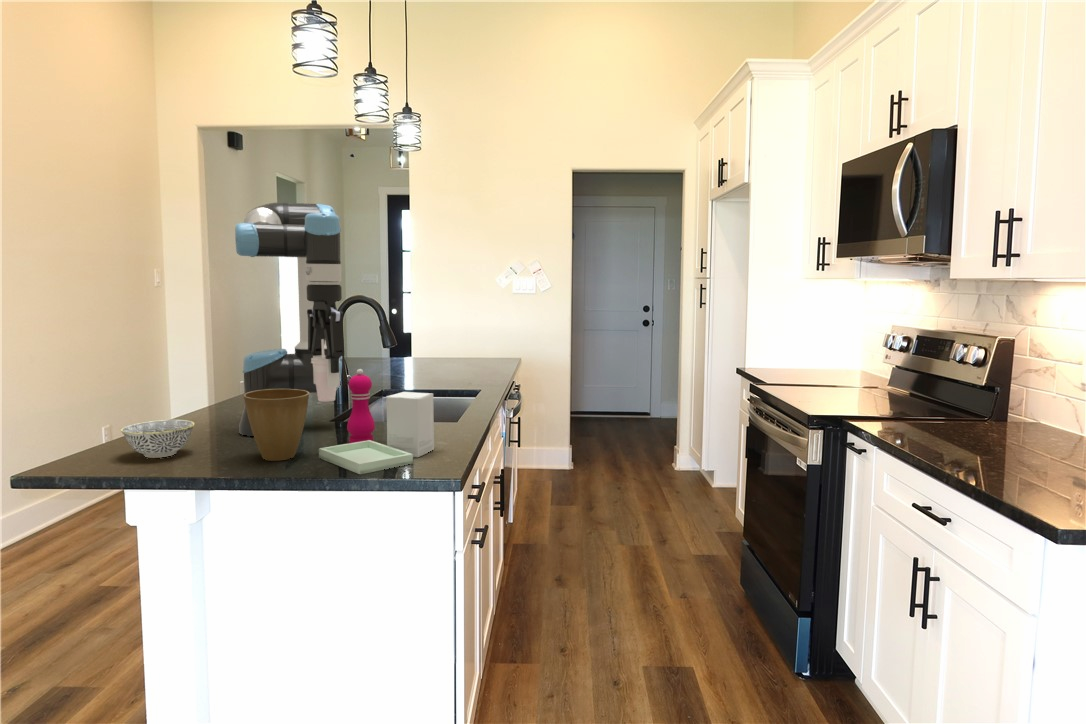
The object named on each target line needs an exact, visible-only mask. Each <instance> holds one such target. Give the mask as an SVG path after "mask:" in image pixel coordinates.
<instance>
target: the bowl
mask: <svg viewBox="0 0 1086 724" xmlns="http://www.w3.org/2000/svg"><path fill="white" fill-rule="evenodd" d="M195 425H196V424H195V421H192V420H187V419H160V420H159V419H158V420H151V421H144V422H138V423H133V424H130V425H126V426H123V428H121V429H120V432H121V433H122V435H123V436H124V438H125V439H126V442H127V443H128V444H129V447H131V448H132V450H134V451H135V452H137V453H139V454H142V455H143V457H144V456H145V457H153V458H154V457H166V456H171V455H174V454H176V455H177V452H178V451H179V450H181V449H182V448H184V446H186V445H187V443H188V441H189V439H190V436H191V433H192V431H193V428H194V426H195ZM174 456H175V455H174ZM145 457H144V458H145ZM171 457H172V456H171Z"/></svg>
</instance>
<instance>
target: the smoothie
mask: <svg viewBox="0 0 1086 724" xmlns="http://www.w3.org/2000/svg"><path fill="white" fill-rule="evenodd" d="M321 341H322V357H314V358H311V363H313V370H314V376H315V383H316V389H317V393H316V395H317V401H319V402H324V403H325V402H327V403H328V402H334V401H336V393H337V390H336V387H333V388H327V367H326V358H325V357H324V339H321ZM339 363H340V358H339Z"/></svg>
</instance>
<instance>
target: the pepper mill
mask: <svg viewBox="0 0 1086 724" xmlns="http://www.w3.org/2000/svg"><path fill="white" fill-rule="evenodd" d="M372 385H373V384H372V380H371V378H370V377H369V376H368V375H366V374H364V370H363V369H362V368H358V369H357V370H356V374H355V375H353V376H352V377H350V379H349V381H348V388H349V391H351V393H350V399H351V400H352V408H351V413H350V416H349V418H348V420H347V425H346V430H347V432H348V433H349V434H350V436H349V438H348V440H349V441H348V442H349V443H355V442H361V441H367V440H371V441H374V435H373V432H374V431H375V429H376V424H375V423H376V422H375V420H374V417H373V415H372V413H371V410H370V407H369V399H371V395H370V394H371V393H370V390H371V389H372ZM349 443H348V444H349Z"/></svg>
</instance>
